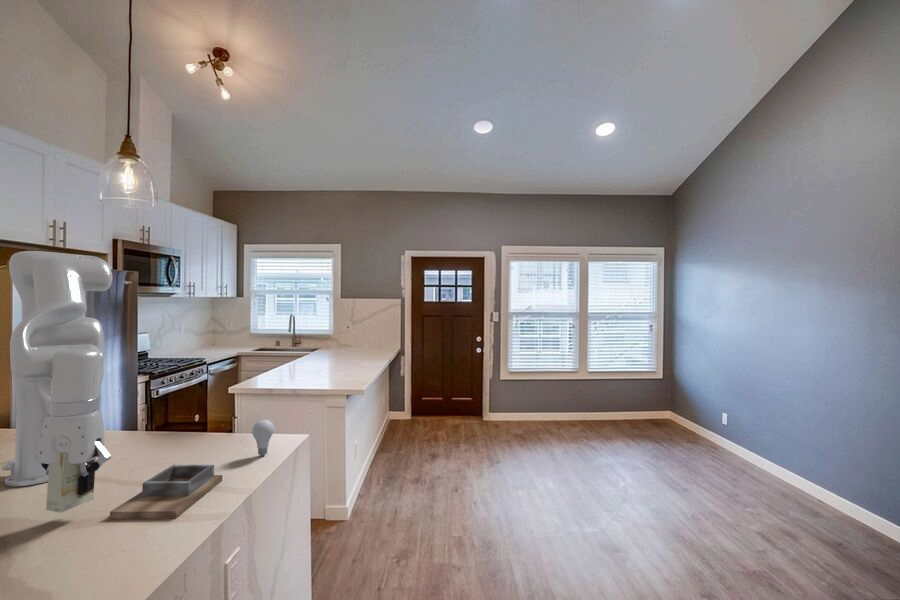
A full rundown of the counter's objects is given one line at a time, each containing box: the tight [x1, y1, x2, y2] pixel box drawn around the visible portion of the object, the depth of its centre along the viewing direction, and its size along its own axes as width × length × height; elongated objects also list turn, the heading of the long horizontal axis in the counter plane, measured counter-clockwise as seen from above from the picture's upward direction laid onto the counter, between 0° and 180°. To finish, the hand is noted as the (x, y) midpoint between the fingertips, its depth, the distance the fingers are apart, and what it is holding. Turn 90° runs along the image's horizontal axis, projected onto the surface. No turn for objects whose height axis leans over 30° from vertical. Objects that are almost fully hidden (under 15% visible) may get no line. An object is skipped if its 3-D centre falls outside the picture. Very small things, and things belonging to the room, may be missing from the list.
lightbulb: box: [251, 419, 275, 457], centre depth 118 cm, size 6×6×11 cm
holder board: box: [109, 464, 223, 520], centre depth 92 cm, size 14×18×4 cm
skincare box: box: [45, 453, 96, 514], centre depth 82 cm, size 6×4×12 cm
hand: (71, 490), depth 82 cm, fingers closed on skincare box, 5 cm apart
